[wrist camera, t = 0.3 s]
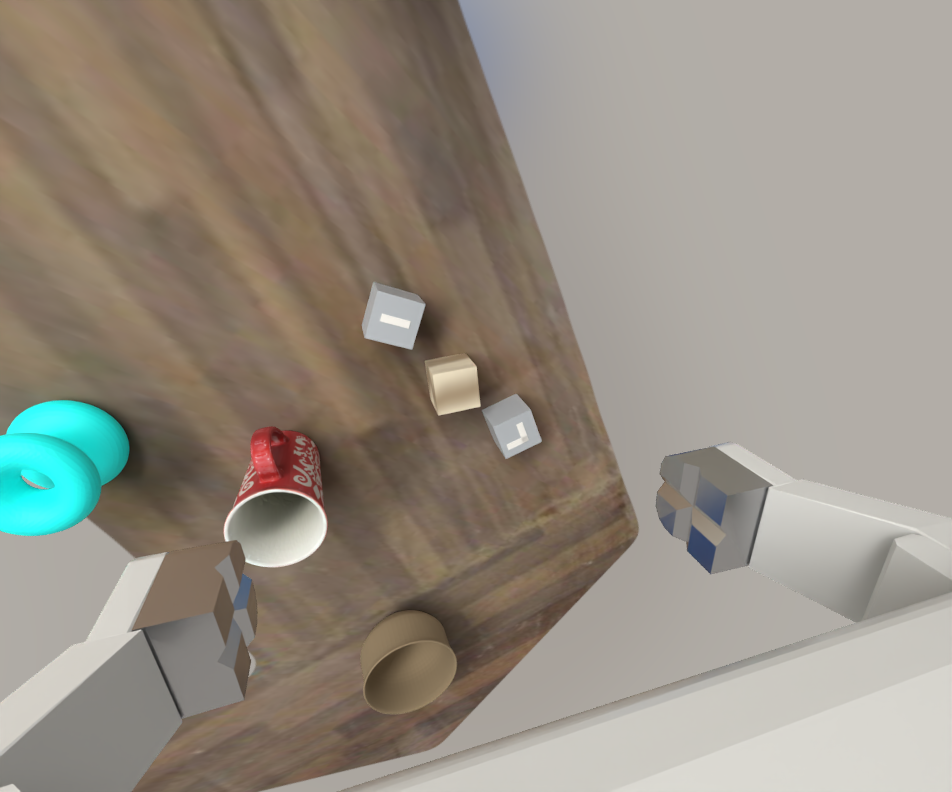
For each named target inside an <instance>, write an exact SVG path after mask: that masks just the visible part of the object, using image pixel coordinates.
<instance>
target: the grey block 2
mask: <svg viewBox="0 0 952 792" xmlns="http://www.w3.org/2000/svg"><path fill="white" fill-rule="evenodd" d="M482 413H483V415H484V417H485V420H486V422H487V425H488V427H489V430H490V432H491V434H492V437H493V439H494V441H495V443H496V444H497V446H498V447H499V449H500V451H501V452H502V454H503V455H504V457H505V458H506V459H507V458H509V457H511V456H513V455H515V454H518V453H520V452H522V451H524V450H526V449H528V448H530V447H532V446H534V445H536V444H538V443H540V442H542V440H541V438H540V435H539V432H538V429H537V426H536V423H535V421H534V418H533V415H532V412H531V409H530V408H529V407H528V406H527V405H526V404H525V403H524V402H523V400H522V399H521V398H520V397H519V396H518V395H517V394H514V395H512V396H510V397H508V398H506V399H504V400H502V401H500V402H498V403H495V404H493V405H491V406H489V407H487V408H485V409H483V410H482Z"/></svg>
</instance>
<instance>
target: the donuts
mask: <svg viewBox="0 0 952 792" xmlns="http://www.w3.org/2000/svg"><path fill="white" fill-rule="evenodd" d="M128 457H129V441H128V438H127V435H126V433H125V431H124V429H123V428H122V426H121V425H120V424H119V423H118V422H117V421H116V420H115V419H114V418H113V417H112V416H111V415H109V414H108V413H106V412H105V411H103V410H101V409H99V408H97V407H95V406H92V405H89V404H86V403H82V402H77V401H69V400H57V401H49V402H45V403H41V404H38V405H35V406H33V407H30V408H29V409H27V410H25V411H24V412H22V413H21V414H20V415H18V416H17V417H16V418H15V419H14V421H13V422H12V423H11V425H10V427H9V428H8V431H7V433H6V435H1V436H0V531H2V532H6V533H10V534H15V535H24V536H40V535H47V534H52V533H56V532H60V531H63V530H66V529H68V528H70V527H72V526H74V525H76V524H78V523H79V522H81V521H82V520H83V519H85V518H86V517H87V516H88V515H89V514H90V513H91V512H92V510H93V509H94V508H95V506H96V504H97V503H98V500H99V497H100V494H101V486H102V485H104V484H106V483H108V482H109V481H111V480H112V479H114V478H115V477H116V476H117V475H118V474H119V473H120V472H121V471H122V469H123V468H124V467H125V465H126V463H127V460H128ZM21 475H22V476H24V477H25V478H27V479H28V480H30V481H31V482H33V483H35V484H37V485H39V486H42V487H45V488H48V489H38V488H34V487H32V486H30V485H28V484H27V483H26V482H25V481H24V480H23V479H22V476H21Z"/></svg>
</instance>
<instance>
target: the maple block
mask: <svg viewBox="0 0 952 792" xmlns="http://www.w3.org/2000/svg"><path fill="white" fill-rule="evenodd" d="M425 366H426V373H427V379H428V386H429V393H430V399H431V401H432V403H433V405H434V407H435V409H436V411H437V414H438V415H443V414H448V413H453V412H457V411H462V410H467V409H472V408H476V407H481V406H480V396H479V386H478V377H477V367H476V365H475V364H474V363H473V362H472V360H471V359H470V358H469V357H468V356H467V354H466V353H463V354H457V355H452V356H446V357H441V358H436V359H430V360H425Z"/></svg>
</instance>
